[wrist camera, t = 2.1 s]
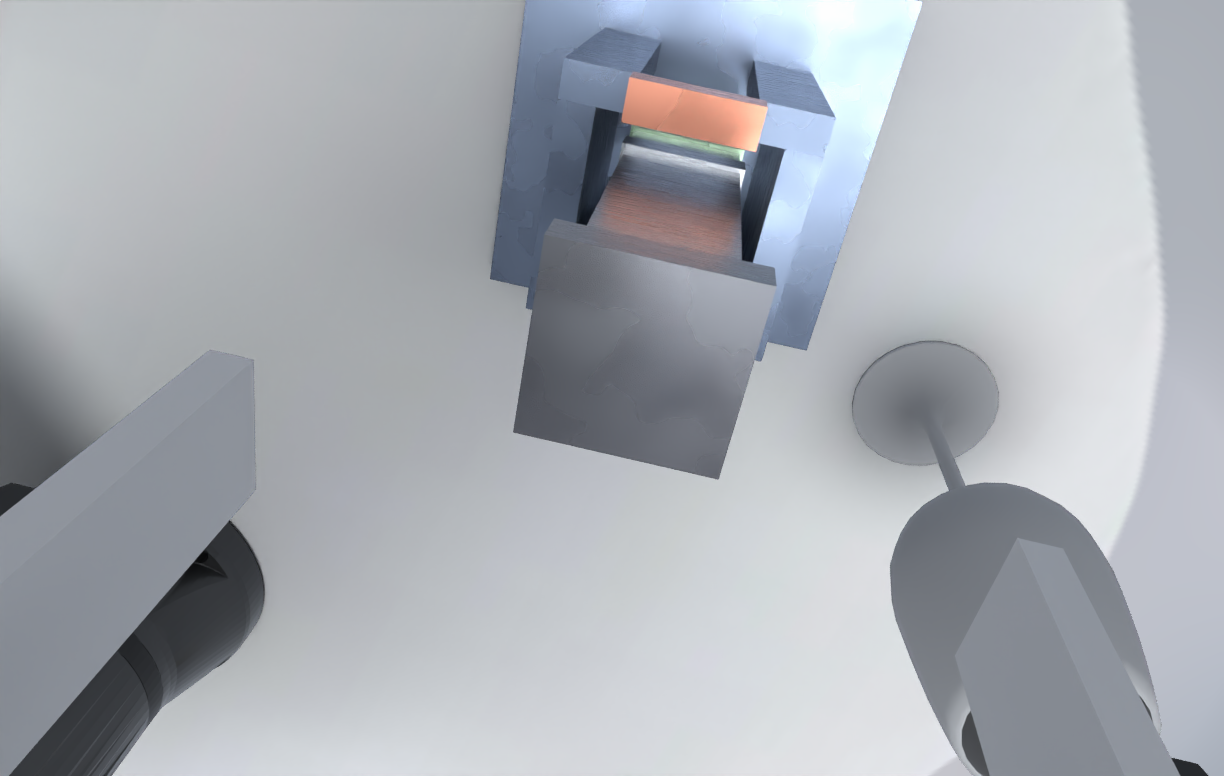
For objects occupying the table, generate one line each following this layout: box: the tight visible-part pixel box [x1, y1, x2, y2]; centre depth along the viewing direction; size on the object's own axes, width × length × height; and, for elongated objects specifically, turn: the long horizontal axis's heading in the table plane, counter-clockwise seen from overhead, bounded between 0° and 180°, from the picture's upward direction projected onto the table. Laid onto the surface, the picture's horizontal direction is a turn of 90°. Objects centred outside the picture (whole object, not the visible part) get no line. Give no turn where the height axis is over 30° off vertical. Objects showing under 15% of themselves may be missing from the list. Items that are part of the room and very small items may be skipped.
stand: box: [490, 0, 923, 361], centre depth 35 cm, size 16×16×13 cm
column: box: [513, 125, 777, 479], centre depth 29 cm, size 5×5×21 cm
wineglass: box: [852, 341, 1162, 776], centre depth 36 cm, size 8×8×21 cm
